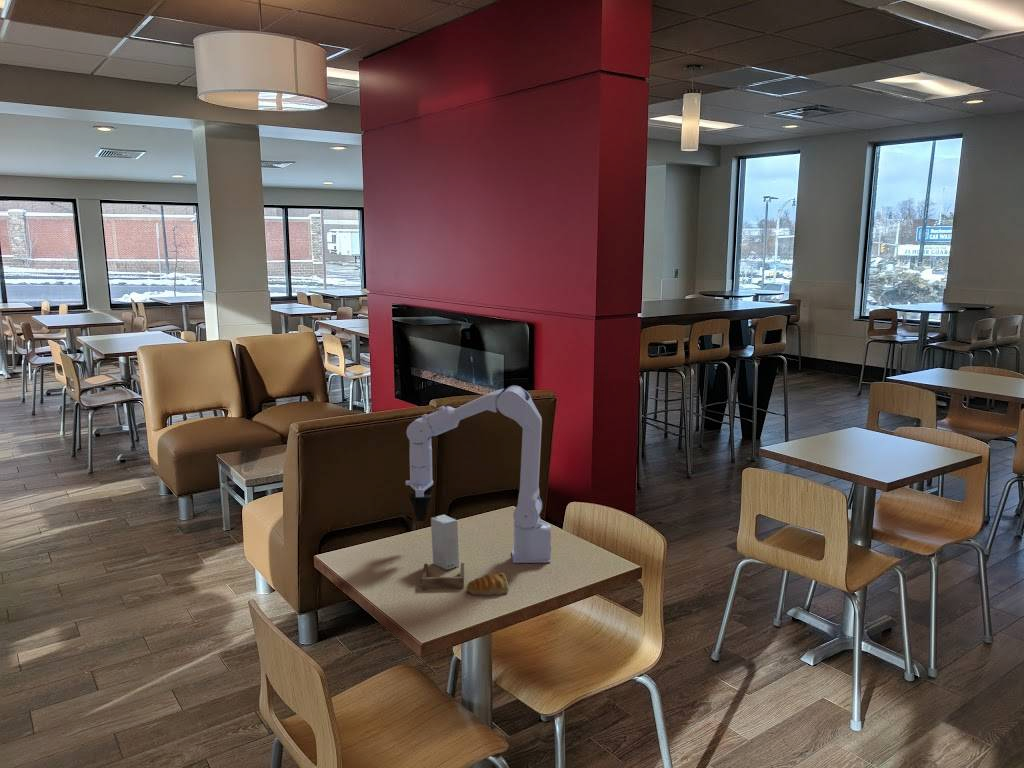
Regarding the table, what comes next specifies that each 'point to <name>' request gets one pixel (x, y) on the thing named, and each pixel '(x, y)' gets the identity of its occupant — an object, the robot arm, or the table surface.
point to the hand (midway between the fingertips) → (421, 515)
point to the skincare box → (445, 542)
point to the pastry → (489, 585)
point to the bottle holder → (442, 580)
